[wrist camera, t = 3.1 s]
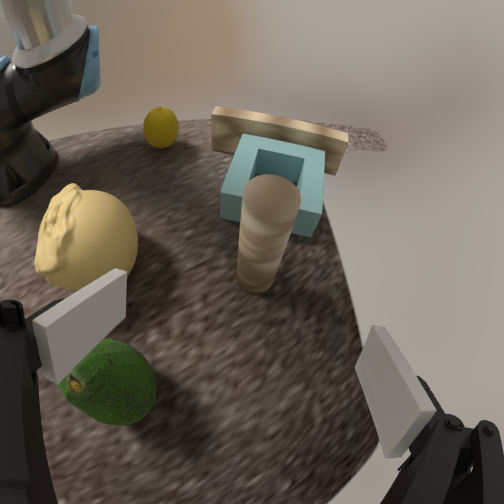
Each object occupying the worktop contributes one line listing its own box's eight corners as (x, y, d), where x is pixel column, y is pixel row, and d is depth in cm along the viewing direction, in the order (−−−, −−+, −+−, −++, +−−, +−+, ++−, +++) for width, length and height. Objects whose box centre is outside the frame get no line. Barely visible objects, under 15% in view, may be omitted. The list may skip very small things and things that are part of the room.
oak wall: (211, 149, 44) (211, 114, 38) (216, 141, 45) (216, 106, 39) (335, 175, 43) (348, 142, 37) (334, 165, 44) (347, 133, 38)
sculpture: (69, 229, 34) (36, 177, 25) (147, 220, 36) (128, 159, 27) (57, 306, 29) (8, 265, 19) (145, 302, 30) (113, 255, 21)
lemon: (164, 162, 42) (157, 120, 35) (141, 151, 43) (132, 112, 36) (187, 143, 44) (184, 103, 37) (163, 134, 45) (158, 95, 38)
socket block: (220, 218, 37) (219, 192, 33) (240, 158, 43) (242, 133, 39) (311, 237, 37) (321, 214, 32) (316, 175, 43) (324, 151, 38)
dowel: (232, 289, 32) (236, 211, 20) (240, 255, 34) (249, 169, 22) (270, 297, 32) (298, 224, 20) (276, 263, 34) (303, 181, 22)
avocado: (85, 388, 24) (19, 371, 14) (124, 337, 28) (75, 296, 18) (140, 437, 23) (89, 452, 12) (181, 383, 26) (153, 368, 16)
